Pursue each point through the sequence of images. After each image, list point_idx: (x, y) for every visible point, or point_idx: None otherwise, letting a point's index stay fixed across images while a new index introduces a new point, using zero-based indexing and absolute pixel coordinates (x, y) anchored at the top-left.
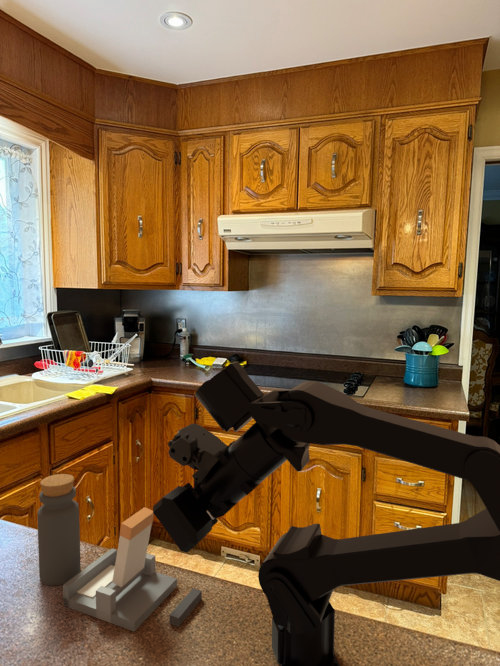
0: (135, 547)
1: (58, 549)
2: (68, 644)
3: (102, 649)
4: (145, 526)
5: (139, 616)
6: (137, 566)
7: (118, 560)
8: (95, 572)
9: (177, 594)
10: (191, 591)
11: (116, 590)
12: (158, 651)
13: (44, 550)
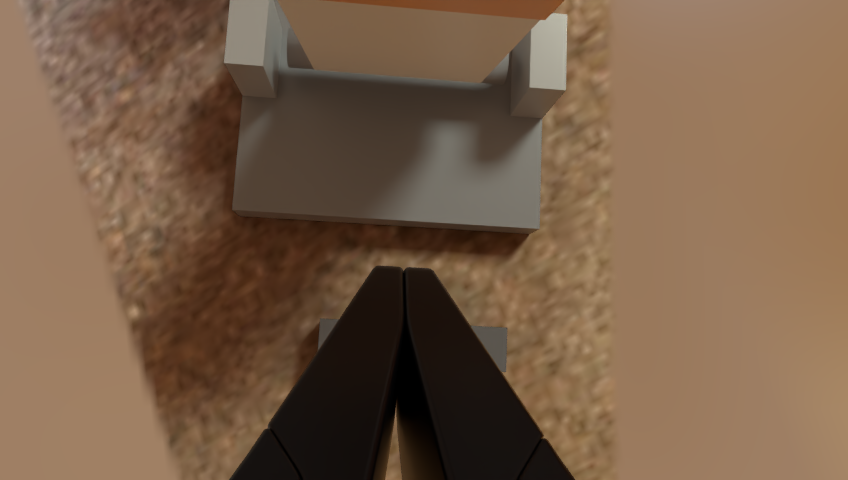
0: (370, 31)
1: None
2: (108, 34)
3: (126, 159)
4: (455, 7)
5: (270, 209)
6: (421, 70)
7: None
8: None
9: (486, 260)
10: (485, 331)
11: (304, 56)
12: (183, 354)
13: None
